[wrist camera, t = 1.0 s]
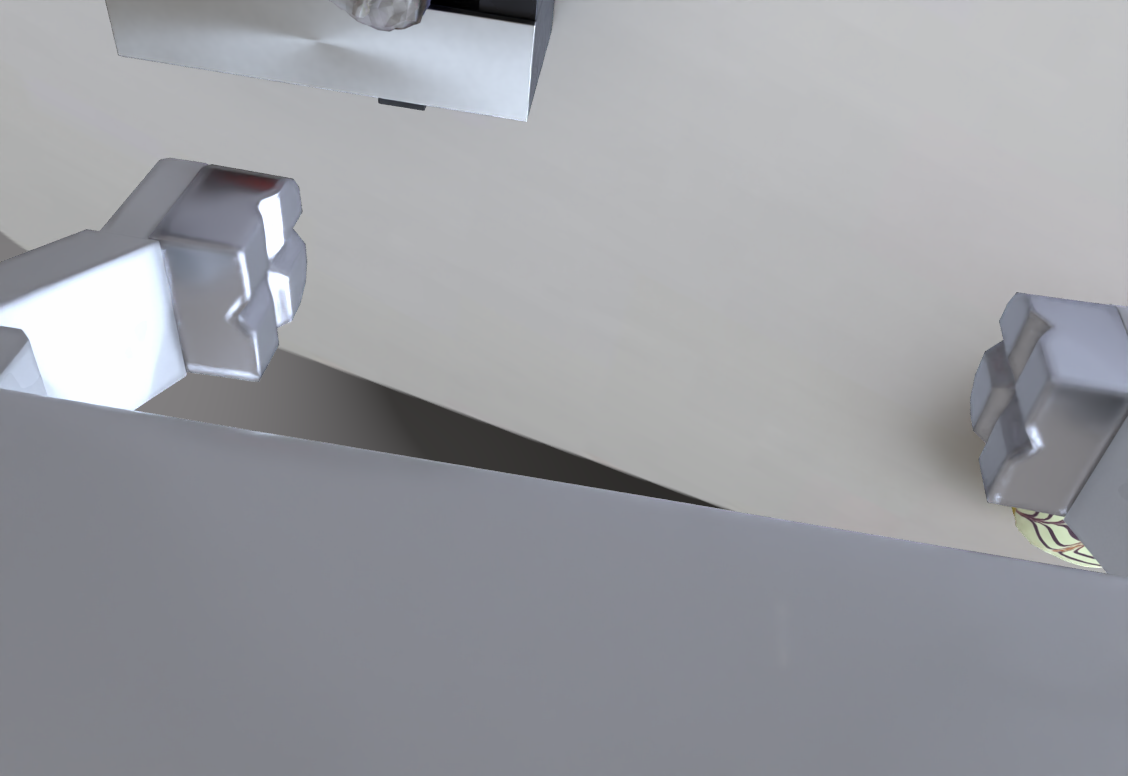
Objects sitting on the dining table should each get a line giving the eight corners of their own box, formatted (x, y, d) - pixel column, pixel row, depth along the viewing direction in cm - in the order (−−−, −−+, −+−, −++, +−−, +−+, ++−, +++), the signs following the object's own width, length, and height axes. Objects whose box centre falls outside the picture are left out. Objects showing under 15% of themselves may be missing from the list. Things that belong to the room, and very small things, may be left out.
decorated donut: (1277, 455, 55) (1301, 515, 52) (1098, 544, 62) (1111, 601, 60) (1138, 365, 52) (1157, 425, 49) (966, 471, 59) (975, 527, 56)
